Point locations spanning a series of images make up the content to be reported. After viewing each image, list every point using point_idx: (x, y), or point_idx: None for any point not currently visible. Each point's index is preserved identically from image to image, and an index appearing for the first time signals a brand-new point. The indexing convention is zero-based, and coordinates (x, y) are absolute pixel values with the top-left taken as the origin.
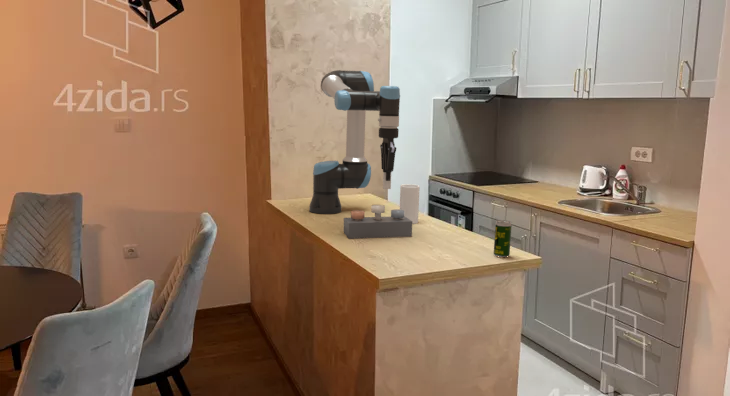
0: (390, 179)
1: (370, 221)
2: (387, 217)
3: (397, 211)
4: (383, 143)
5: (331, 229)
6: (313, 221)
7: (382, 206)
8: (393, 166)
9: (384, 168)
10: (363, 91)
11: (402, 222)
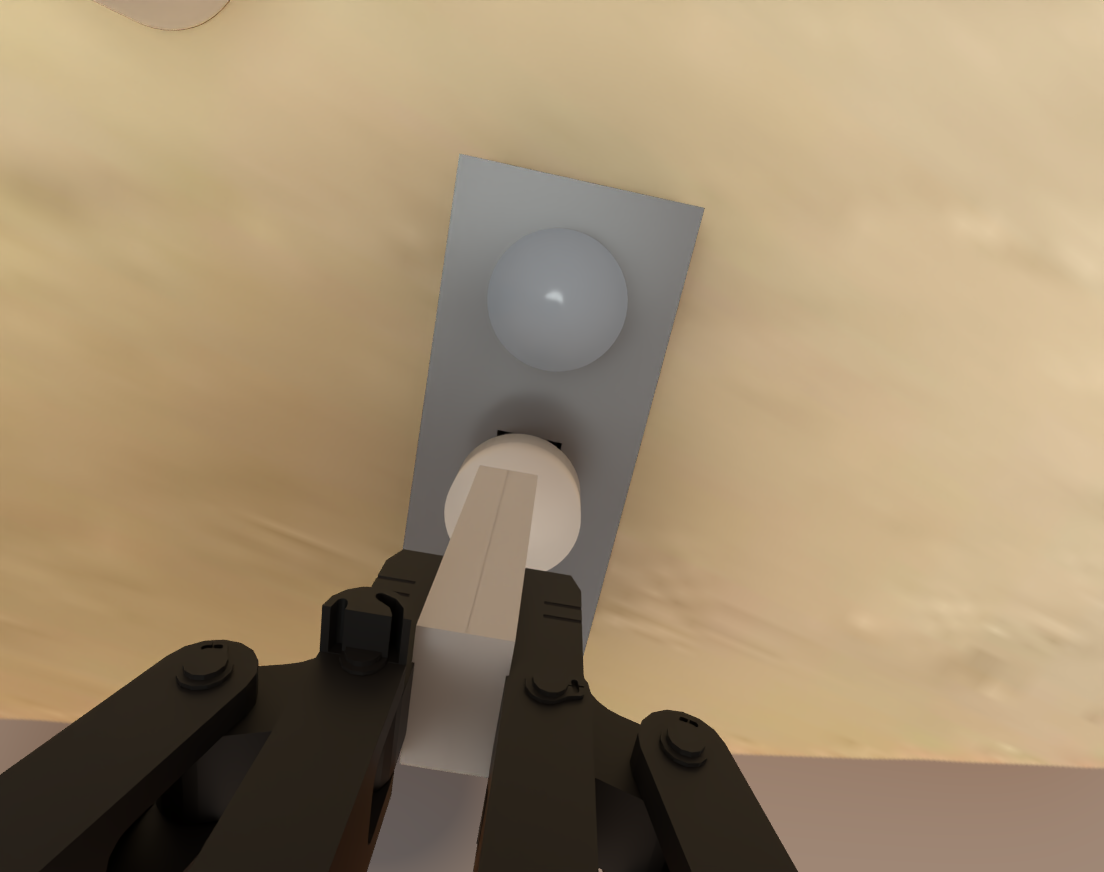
0: (526, 557)
1: (572, 548)
2: (470, 350)
3: (596, 327)
4: None
5: (312, 626)
6: (67, 643)
7: (555, 493)
8: (788, 866)
9: (379, 822)
10: None
11: (675, 305)
